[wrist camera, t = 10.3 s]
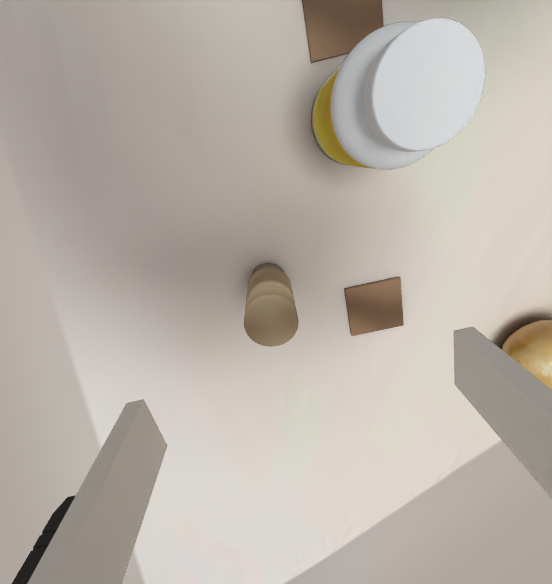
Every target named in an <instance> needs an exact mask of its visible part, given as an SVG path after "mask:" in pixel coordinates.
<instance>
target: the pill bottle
mask: <svg viewBox="0 0 552 584" xmlns="http://www.w3.org/2000/svg"><path fill="white" fill-rule="evenodd" d="M484 81H485V63H484V57H483V53H482V50H481V47H480V45H479V43H478V41H477V39H476V37H475V36H474V35H473V34H472V32H471V31H470V30H469V29H468V28H466V27H465V26H464V25H462V24H461V23H459V22H457V21H454V20H451V19H447V18H431V19H426V20H423V21H420V22H418V23H416V22H398V23H393V24H390V25H386V26H384V27H381V28H379V29H377V30H375V31H374V32H372V33H370V34H369V35H368V36H366V37H365V38H364V39H363V40H361V41H360V42H359V43H358V44H357V45H356V46H355V47H354V49H353V50H352V51H351V52H350V53H349V54H348V56H347V57H346V58H345V59H344V60H343V62H342V63H341V64H340V65H339V66H338V67H337V68H336V70H335V71H334V72H333V73H332V74H331V75H330V76H329V77H328V78H327V79H326V81H325V82H324V83H323V84H322V86H321V87H320V89H319V91H318V93H317V95H316V97H315V100H314V103H313V107H312V113H311V126H312V131H313V135H314V138H315V141H316V143H317V144H318V146H319V148H320V149H321V150H322V152H323V153H324V154H325V155H326V156H328V157H329V158H330V159H332V160H333V161H335V162H337V163H340V164H344V165H350V166H358V167H365V168H374V169H396V168H401V167H405V166H407V165H410V164H412V163H414V162H416V161H418V160H420V159H421V158H423V157H424V156H426V155H427V154H428V153H429V152H431V151H432V150H433V149H434V148H436V147H438V146H440V145H443V144H444V143H446V142H448V141H449V140H451V139H452V138H453V137H455V136H456V135H457V134H458V133H459V132H460V131H461V130H462V129H463V128H464V127H465V126H466V124H467V123H468V122H469V120H470V119H471V117H472V116H473V114H474V112H475V110H476V108H477V106H478V104H479V101H480V98H481V95H482V92H483V88H484Z"/></svg>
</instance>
